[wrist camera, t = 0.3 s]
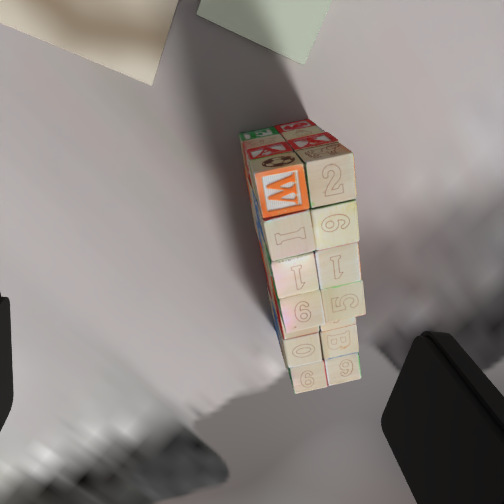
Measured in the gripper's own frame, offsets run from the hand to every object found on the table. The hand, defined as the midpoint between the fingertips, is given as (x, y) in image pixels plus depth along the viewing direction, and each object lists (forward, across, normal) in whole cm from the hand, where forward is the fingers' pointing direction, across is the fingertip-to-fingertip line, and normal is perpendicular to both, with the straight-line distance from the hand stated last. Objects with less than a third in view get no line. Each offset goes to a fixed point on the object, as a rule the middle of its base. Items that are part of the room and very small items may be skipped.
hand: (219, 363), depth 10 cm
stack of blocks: (+30, -10, +9) cm, 33 cm away
